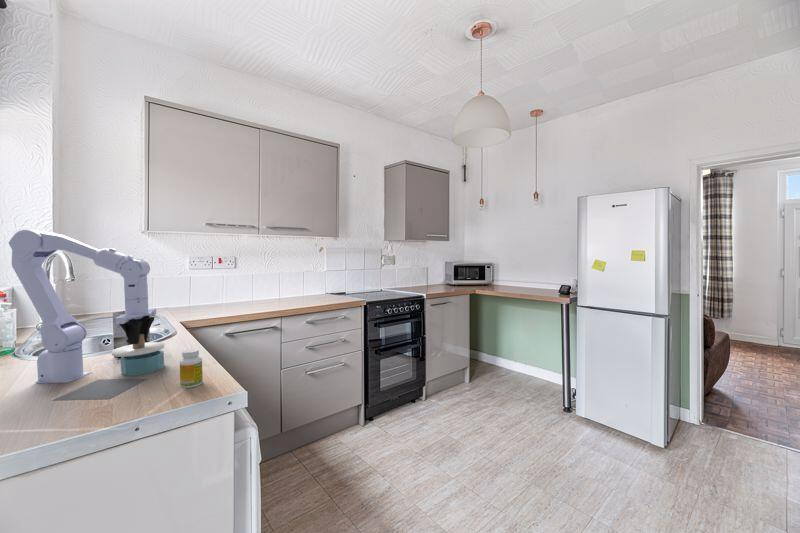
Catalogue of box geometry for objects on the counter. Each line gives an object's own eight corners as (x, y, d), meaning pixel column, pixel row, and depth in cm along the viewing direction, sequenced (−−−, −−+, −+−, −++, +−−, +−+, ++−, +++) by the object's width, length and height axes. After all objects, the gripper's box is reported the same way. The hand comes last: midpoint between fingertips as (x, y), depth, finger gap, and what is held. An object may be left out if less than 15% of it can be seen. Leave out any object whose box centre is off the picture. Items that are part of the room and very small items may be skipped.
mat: (52, 401, 87) (52, 400, 87) (98, 380, 101) (98, 379, 101) (109, 400, 88) (109, 398, 88) (147, 379, 102) (147, 378, 102)
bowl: (112, 376, 104) (111, 360, 104) (138, 365, 115) (137, 350, 115) (149, 376, 105) (148, 359, 104) (171, 364, 115) (171, 349, 115)
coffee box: (128, 358, 122) (126, 313, 121) (113, 357, 123) (111, 312, 123) (151, 351, 131) (149, 308, 130) (137, 350, 132) (135, 308, 132)
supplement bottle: (198, 387, 96) (197, 352, 95) (176, 389, 95) (175, 354, 94) (205, 380, 101) (204, 347, 100) (185, 381, 100) (184, 348, 99)
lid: (100, 357, 101) (99, 340, 101) (133, 345, 114) (132, 330, 114) (145, 356, 101) (144, 339, 101) (173, 344, 114) (172, 329, 114)
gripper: (132, 301, 100) (134, 348, 101) (165, 295, 114) (166, 336, 115) (107, 302, 100) (109, 349, 100) (143, 295, 114) (144, 336, 115)
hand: (138, 342), depth 108 cm, fingers closed on lid, 3 cm apart
